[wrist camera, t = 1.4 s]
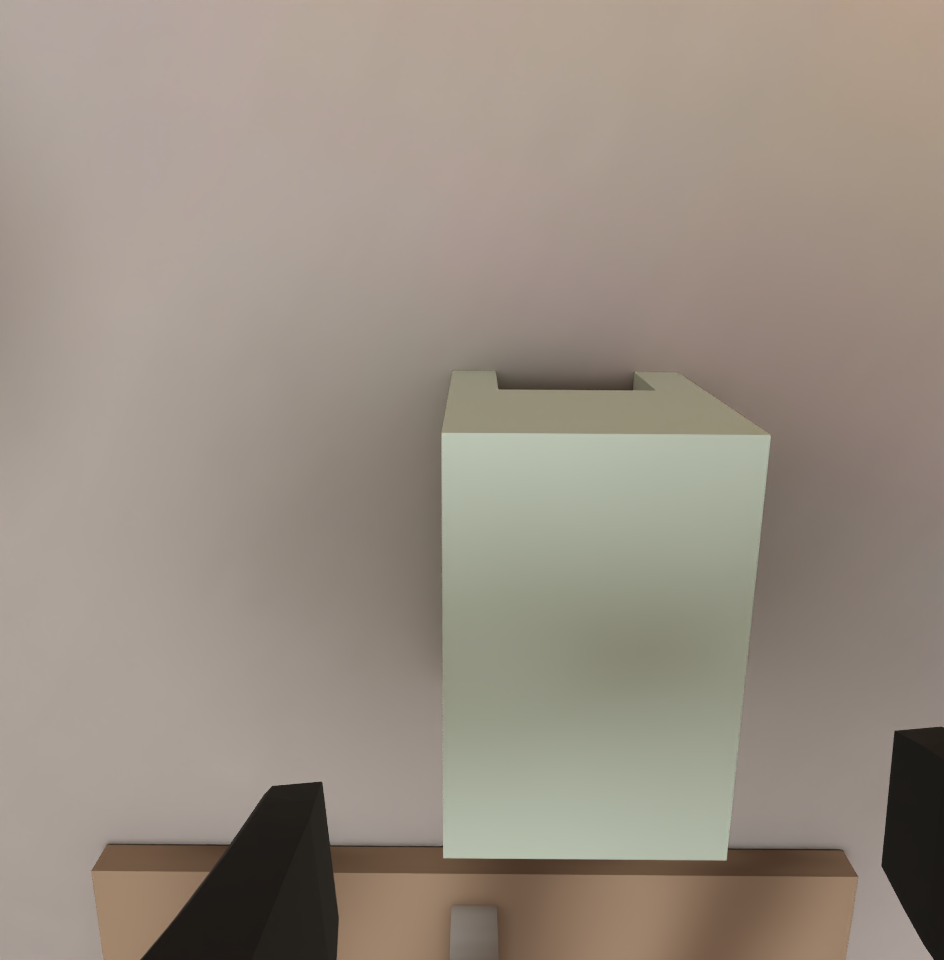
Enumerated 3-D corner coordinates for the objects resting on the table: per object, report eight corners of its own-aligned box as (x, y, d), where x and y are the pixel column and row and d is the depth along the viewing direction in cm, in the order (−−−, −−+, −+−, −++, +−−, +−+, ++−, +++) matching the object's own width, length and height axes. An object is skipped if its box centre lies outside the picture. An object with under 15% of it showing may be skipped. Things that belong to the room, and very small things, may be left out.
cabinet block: (677, 372, 20) (771, 435, 13) (655, 682, 22) (726, 860, 16) (452, 370, 20) (441, 433, 14) (452, 680, 22) (443, 858, 16)
